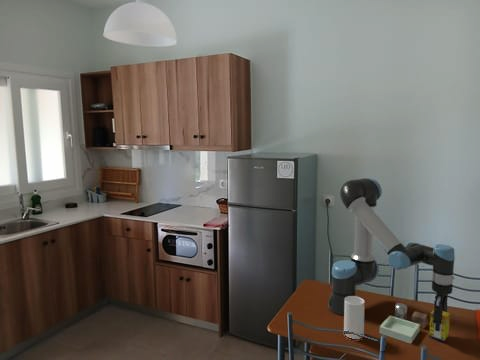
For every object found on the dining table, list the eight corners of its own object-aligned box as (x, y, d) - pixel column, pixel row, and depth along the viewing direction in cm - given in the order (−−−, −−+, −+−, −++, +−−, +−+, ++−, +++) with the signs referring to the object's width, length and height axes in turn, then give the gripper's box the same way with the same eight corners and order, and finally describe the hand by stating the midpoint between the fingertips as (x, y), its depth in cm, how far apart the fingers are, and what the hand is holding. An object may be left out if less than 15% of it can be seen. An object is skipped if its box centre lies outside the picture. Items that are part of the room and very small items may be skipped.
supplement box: (429, 336, 153) (430, 312, 151) (433, 331, 157) (434, 307, 156) (444, 342, 148) (446, 317, 147) (448, 336, 153) (450, 312, 151)
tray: (379, 333, 157) (379, 326, 156) (389, 321, 166) (389, 315, 166) (410, 343, 148) (411, 337, 148) (419, 330, 158) (419, 324, 158)
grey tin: (393, 320, 168) (393, 305, 167) (396, 315, 171) (397, 302, 171) (404, 323, 164) (405, 309, 164) (407, 319, 168) (408, 305, 167)
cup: (364, 341, 151) (365, 305, 149) (344, 339, 152) (345, 303, 151) (362, 331, 159) (363, 296, 157) (343, 329, 160) (343, 295, 159)
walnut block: (411, 325, 163) (412, 315, 162) (414, 321, 166) (415, 311, 166) (423, 329, 159) (424, 318, 159) (426, 324, 163) (427, 314, 162)
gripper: (447, 292, 140) (444, 347, 143) (457, 277, 154) (453, 327, 157) (426, 287, 145) (423, 340, 148) (437, 273, 159) (434, 321, 162)
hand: (439, 333), depth 152 cm, fingers closed on supplement box, 6 cm apart
